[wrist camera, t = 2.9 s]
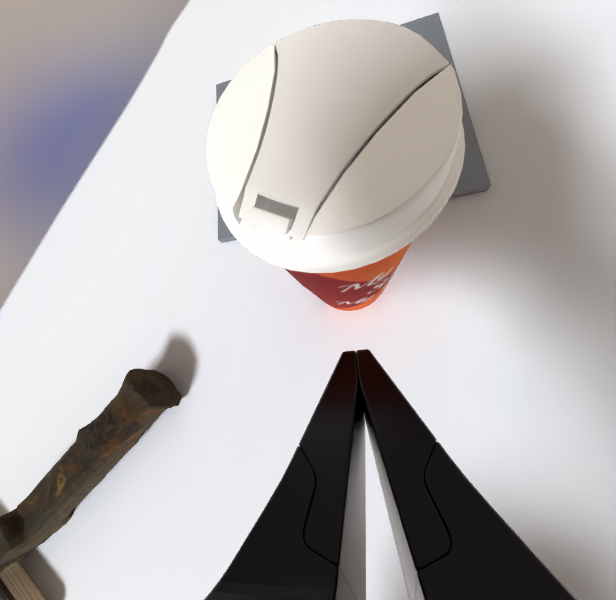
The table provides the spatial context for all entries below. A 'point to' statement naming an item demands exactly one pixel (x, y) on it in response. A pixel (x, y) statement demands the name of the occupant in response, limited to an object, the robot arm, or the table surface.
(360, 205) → the paper cup
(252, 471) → the table surface
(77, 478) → the brown wooden branch
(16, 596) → the hardcover book
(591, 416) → the table surface
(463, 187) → the mat
